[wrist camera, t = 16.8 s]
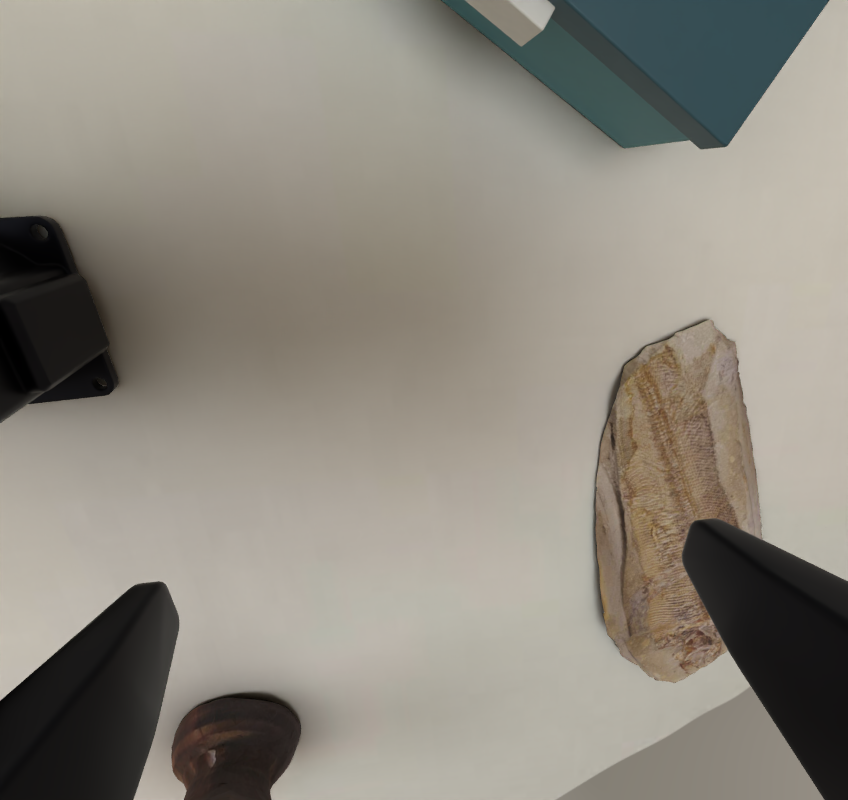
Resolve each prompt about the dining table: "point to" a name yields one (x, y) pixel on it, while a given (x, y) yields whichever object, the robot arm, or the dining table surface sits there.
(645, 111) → the lunch box
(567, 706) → the dining table surface
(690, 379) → the fish fossil
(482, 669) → the dining table surface
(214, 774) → the mortar and pestle
